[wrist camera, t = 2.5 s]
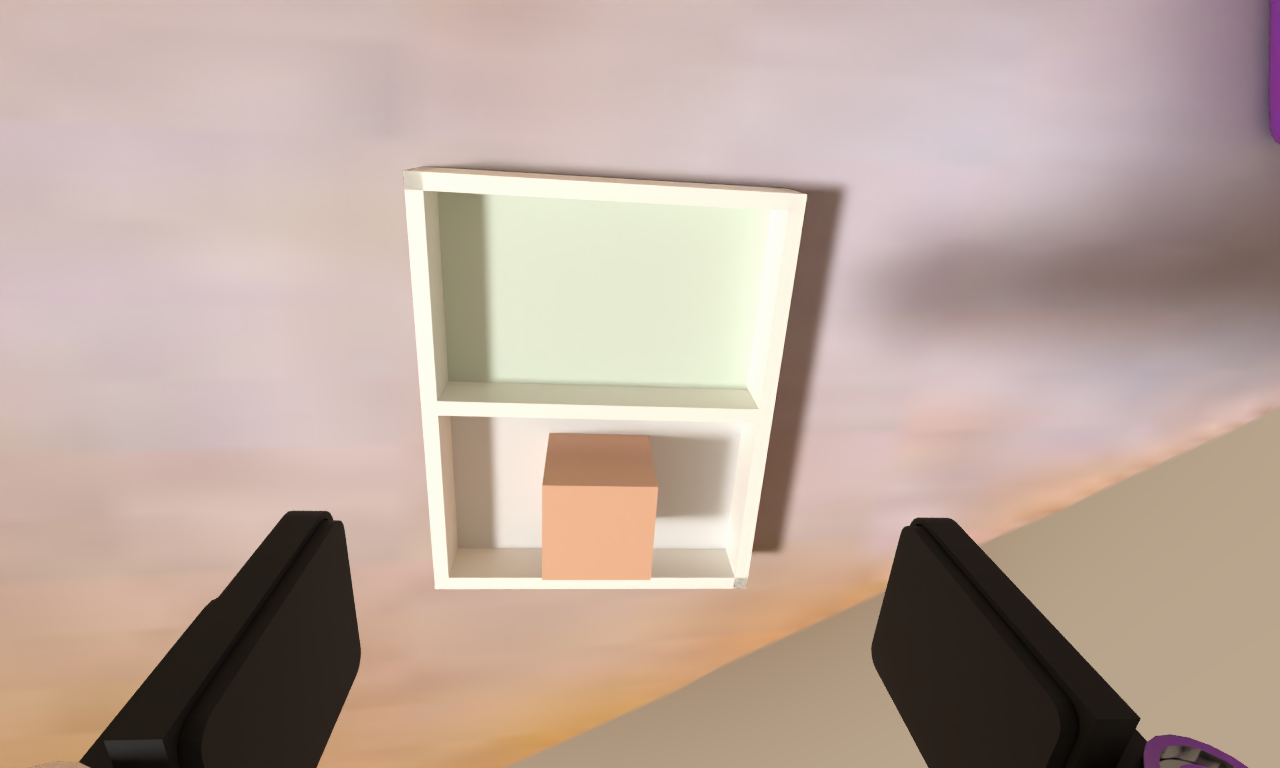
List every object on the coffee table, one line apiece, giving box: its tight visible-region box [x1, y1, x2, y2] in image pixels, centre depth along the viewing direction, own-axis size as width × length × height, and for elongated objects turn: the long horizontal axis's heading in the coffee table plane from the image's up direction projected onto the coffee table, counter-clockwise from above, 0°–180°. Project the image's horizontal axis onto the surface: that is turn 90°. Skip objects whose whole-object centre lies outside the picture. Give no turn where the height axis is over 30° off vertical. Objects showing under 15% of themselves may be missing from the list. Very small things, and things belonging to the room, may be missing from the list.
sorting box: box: [403, 167, 807, 589], centre depth 30 cm, size 20×16×3 cm
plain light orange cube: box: [542, 433, 658, 580], centre depth 30 cm, size 5×5×5 cm
